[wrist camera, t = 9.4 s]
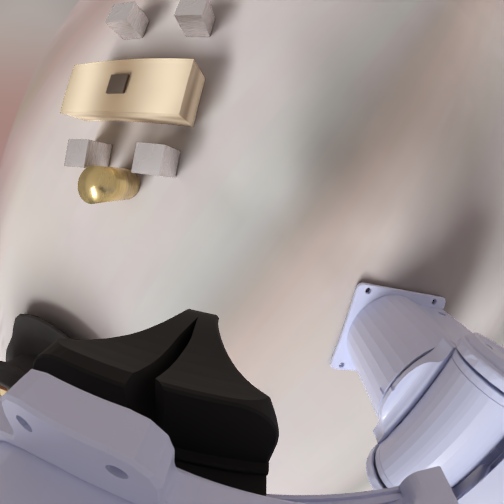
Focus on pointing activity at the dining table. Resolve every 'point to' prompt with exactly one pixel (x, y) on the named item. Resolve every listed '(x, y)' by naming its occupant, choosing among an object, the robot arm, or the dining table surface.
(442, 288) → the dining table surface
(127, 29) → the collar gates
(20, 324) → the casserole
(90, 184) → the gold capsule
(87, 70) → the bar
